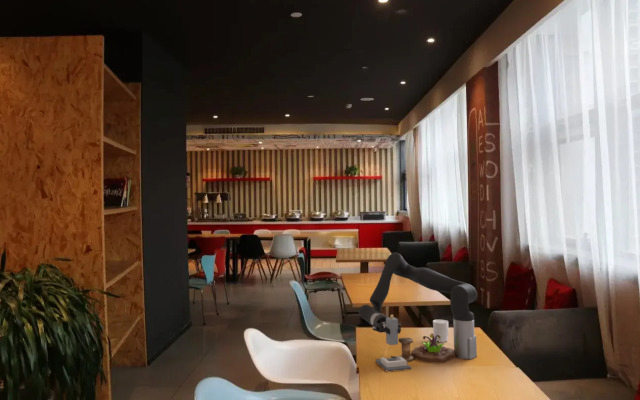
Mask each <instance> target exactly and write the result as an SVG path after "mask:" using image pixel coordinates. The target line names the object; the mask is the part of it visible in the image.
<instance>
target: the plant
mask: <svg viewBox="0 0 640 400" xmlns="http://www.w3.org/2000/svg"><path fill="white" fill-rule="evenodd" d="M437 336H438V338H439V339H440V338H441V336H440V335H436V337H435V339H434V333H430V334H429V336H425V335H424V336H422V339H423V340H426V338H427V339H428V341H426V342H424V341H423V342H422V345H419V346H417V347H414V348H413V349H412V351H410V355H411V356H413V359H416V360H417V361H420V362H425V363H436V364H437V363H438V364H446V363H447V362H449V361H451V360H453V359H454V360H455V359H456V357H455V352H454V348H452V347H451V348H450V347H446V346H444V345H445V343H441V344H439V342H437V341H436V339H437ZM423 344H424V345H423Z"/></svg>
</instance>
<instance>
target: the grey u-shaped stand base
mask: <svg viewBox="0 0 640 400" xmlns="http://www.w3.org/2000/svg"><path fill="white" fill-rule="evenodd" d="M395 357H396V358H391V357H389V358H386V357H384V356H383V357H380V358H379V359H375V363H377V364H378V365H379V366H380V367H381V368H382V367H383V368H384V369H383V368H382V369H383V370H384V371H386V370H387V371H391V372H394V371H393V370H401V371H405V370H404V369H411V370H412V366H410V365H409V364H408V361H406V360H405V359H404V358H402V357H401V355H396V356H395ZM387 371H386V372H387Z"/></svg>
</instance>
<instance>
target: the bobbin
mask: <svg viewBox="0 0 640 400" xmlns="http://www.w3.org/2000/svg"><path fill="white" fill-rule="evenodd" d="M398 343H400V345H401V355H400V356H401V357H402V358H404V359H405V360H406V361H407V362H412V361H413V360H414V358H413V356H411V344H412V343H414V340H413V338H410V337H400V338H399V337H398ZM396 357H397V356H395V355H394V356H393V355H391V356H390V358H396Z"/></svg>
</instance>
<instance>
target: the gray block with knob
mask: <svg viewBox="0 0 640 400" xmlns="http://www.w3.org/2000/svg"><path fill="white" fill-rule="evenodd" d="M398 322H399V319H398V318H396V317H394V314H390V316H389V317H388V318H386V327H387V328H389V329H390V334H387V333H385V336H386V337H385V339H386V340H385V343H386V344H388V345H389V346H394V345H395V346H396V345H399V334H398Z"/></svg>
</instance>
